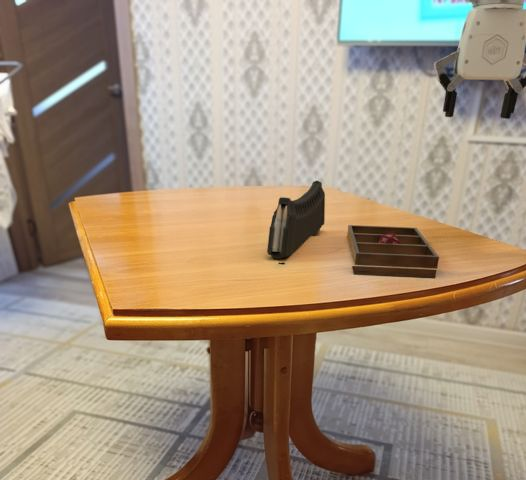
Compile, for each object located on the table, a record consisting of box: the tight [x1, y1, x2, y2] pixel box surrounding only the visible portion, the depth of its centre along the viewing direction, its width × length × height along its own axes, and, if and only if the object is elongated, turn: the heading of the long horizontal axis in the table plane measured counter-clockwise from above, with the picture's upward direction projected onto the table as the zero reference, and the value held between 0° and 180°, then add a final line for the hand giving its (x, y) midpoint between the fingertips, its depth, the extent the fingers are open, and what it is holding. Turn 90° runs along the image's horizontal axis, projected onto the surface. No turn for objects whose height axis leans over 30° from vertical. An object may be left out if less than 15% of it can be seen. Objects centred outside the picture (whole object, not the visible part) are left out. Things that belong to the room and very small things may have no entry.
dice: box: [378, 233, 401, 244], centre depth 91 cm, size 4×4×4 cm
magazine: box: [266, 180, 326, 266], centre depth 96 cm, size 17×3×30 cm
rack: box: [346, 224, 440, 279], centre depth 91 cm, size 13×20×4 cm, turn 175°
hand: (476, 117), depth 89 cm, fingers open, 9 cm apart
